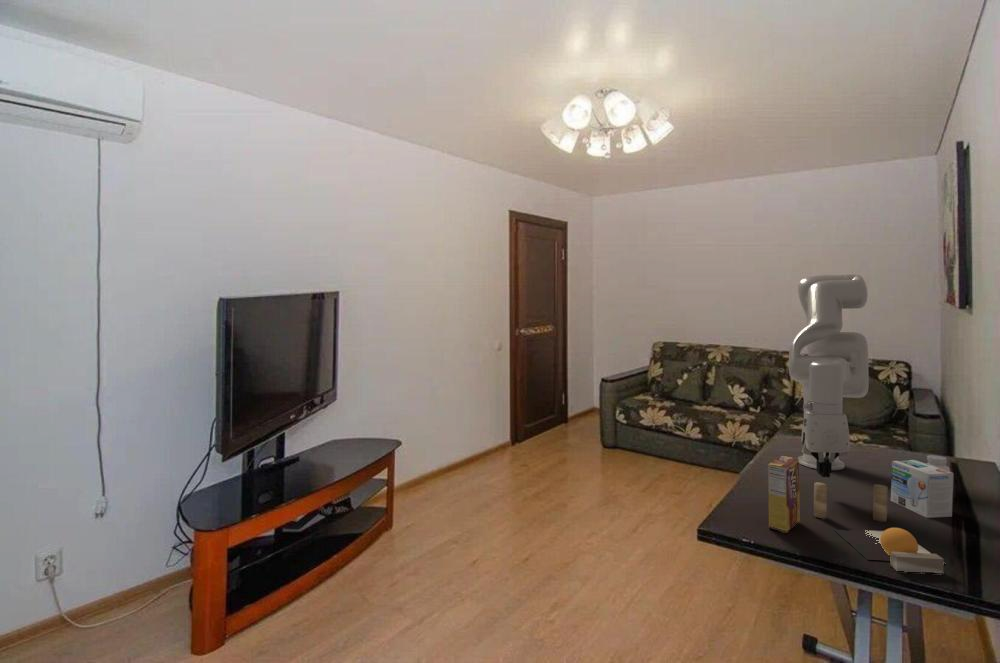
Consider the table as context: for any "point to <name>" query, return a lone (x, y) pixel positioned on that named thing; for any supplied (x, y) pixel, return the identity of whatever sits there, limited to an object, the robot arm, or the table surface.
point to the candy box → (783, 493)
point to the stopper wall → (916, 562)
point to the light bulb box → (922, 488)
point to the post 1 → (820, 500)
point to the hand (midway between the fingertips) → (823, 475)
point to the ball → (898, 541)
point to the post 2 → (880, 503)
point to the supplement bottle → (937, 462)
